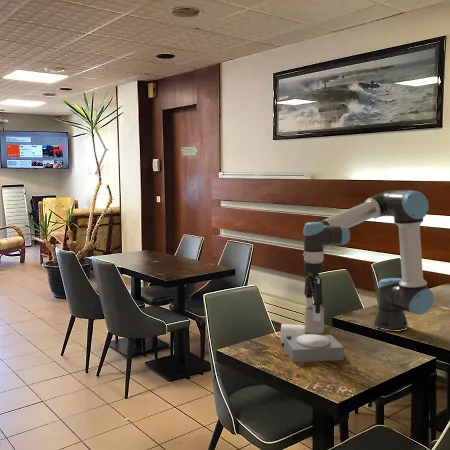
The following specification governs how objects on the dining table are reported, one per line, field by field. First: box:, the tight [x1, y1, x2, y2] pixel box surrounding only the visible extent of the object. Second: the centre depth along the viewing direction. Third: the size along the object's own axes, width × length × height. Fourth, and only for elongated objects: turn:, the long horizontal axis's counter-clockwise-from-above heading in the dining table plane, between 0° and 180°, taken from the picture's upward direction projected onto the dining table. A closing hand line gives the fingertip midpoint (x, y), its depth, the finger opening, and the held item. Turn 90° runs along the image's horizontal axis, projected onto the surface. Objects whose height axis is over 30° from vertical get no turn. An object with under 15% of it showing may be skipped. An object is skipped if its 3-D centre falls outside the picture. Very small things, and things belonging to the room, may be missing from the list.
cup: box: [304, 306, 325, 334], centre depth 193 cm, size 7×10×9 cm
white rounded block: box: [280, 323, 306, 344], centre depth 210 cm, size 12×10×8 cm
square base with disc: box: [283, 333, 345, 363], centre depth 195 cm, size 20×15×6 cm
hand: (312, 317), depth 193 cm, fingers closed on cup, 10 cm apart
